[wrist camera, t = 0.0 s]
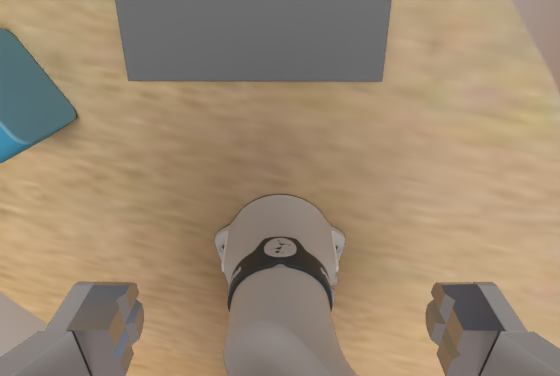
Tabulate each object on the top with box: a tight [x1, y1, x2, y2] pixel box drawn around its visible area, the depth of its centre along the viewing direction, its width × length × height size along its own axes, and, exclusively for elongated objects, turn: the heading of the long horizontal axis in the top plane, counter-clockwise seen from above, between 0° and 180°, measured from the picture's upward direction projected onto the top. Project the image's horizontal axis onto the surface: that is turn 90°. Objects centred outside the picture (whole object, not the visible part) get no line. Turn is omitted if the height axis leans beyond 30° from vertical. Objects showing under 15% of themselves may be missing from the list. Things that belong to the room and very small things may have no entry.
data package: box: [0, 28, 76, 163], centre depth 41 cm, size 12×4×12 cm, turn 30°
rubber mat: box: [115, 0, 391, 82], centre depth 42 cm, size 17×30×1 cm, turn 90°
